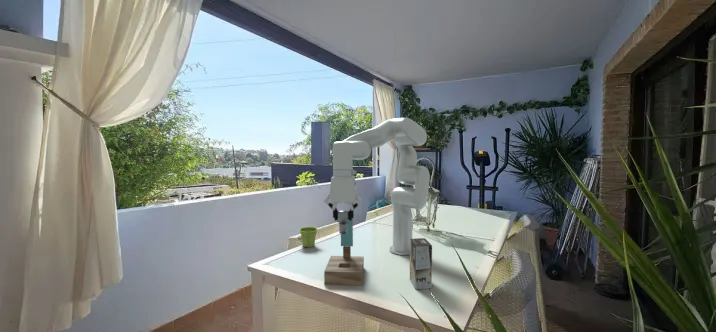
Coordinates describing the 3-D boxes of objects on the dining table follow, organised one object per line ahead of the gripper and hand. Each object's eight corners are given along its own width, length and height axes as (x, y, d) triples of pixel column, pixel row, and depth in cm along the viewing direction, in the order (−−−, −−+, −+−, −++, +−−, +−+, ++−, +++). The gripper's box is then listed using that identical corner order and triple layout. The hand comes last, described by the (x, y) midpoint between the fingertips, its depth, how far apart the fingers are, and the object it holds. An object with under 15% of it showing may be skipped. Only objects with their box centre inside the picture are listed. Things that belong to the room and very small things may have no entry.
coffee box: (432, 288, 111) (433, 245, 110) (415, 289, 111) (415, 246, 109) (424, 277, 120) (425, 237, 119) (408, 278, 120) (409, 238, 119)
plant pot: (312, 241, 165) (311, 225, 165) (321, 246, 158) (321, 229, 157) (296, 245, 160) (296, 228, 159) (305, 250, 152) (304, 232, 152)
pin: (350, 230, 122) (350, 209, 121) (349, 234, 117) (349, 212, 116) (337, 230, 122) (337, 209, 122) (335, 234, 117) (335, 212, 116)
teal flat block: (340, 246, 128) (341, 245, 129) (352, 246, 128) (352, 245, 129) (340, 218, 127) (340, 217, 128) (352, 218, 127) (352, 217, 128)
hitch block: (331, 267, 131) (330, 245, 130) (363, 268, 130) (363, 246, 129) (324, 284, 115) (324, 259, 114) (361, 285, 114) (361, 260, 113)
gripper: (365, 172, 121) (365, 217, 122) (322, 172, 122) (323, 217, 124) (364, 174, 113) (364, 222, 115) (319, 174, 115) (319, 222, 116)
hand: (343, 219), depth 119 cm, fingers closed on pin, 5 cm apart
